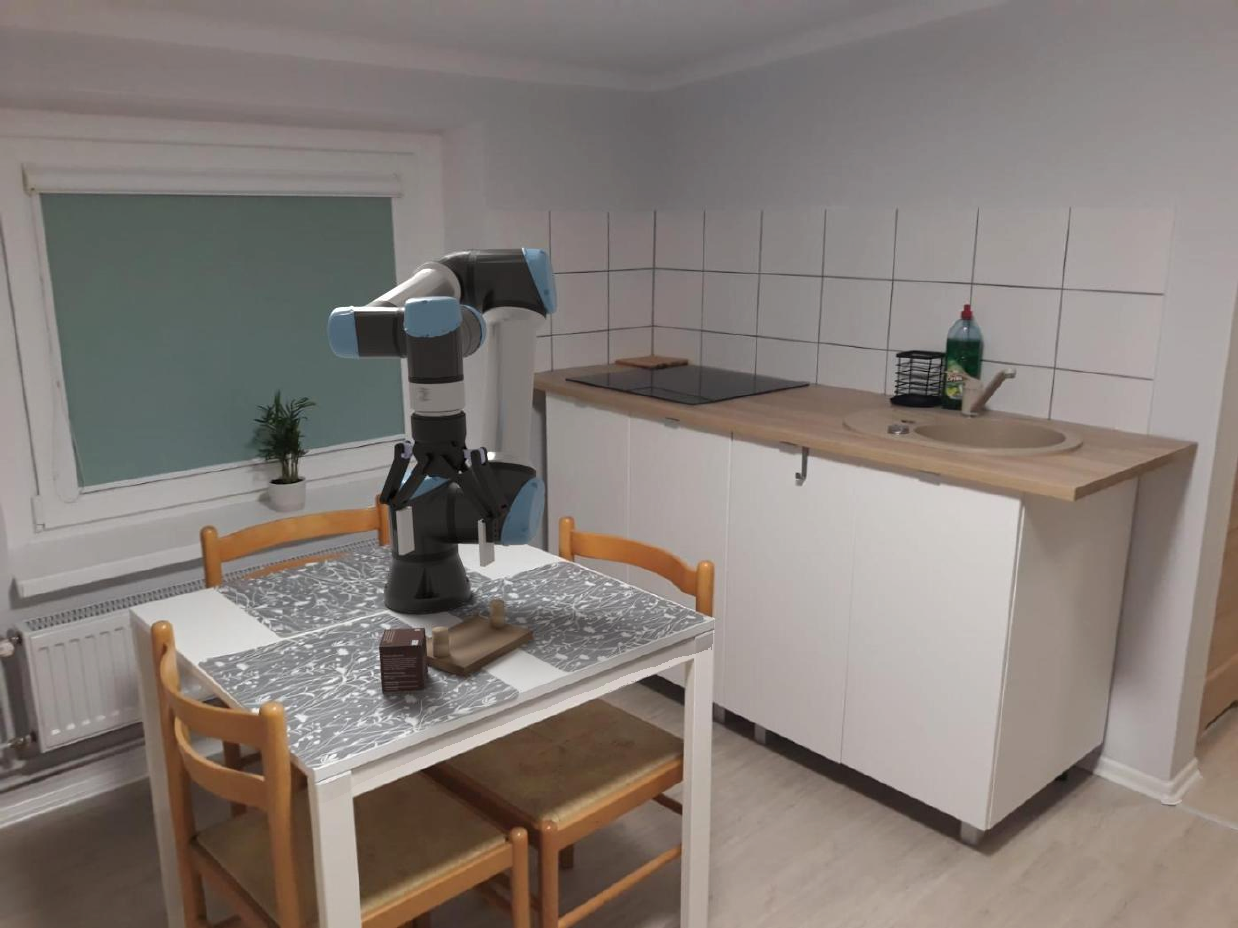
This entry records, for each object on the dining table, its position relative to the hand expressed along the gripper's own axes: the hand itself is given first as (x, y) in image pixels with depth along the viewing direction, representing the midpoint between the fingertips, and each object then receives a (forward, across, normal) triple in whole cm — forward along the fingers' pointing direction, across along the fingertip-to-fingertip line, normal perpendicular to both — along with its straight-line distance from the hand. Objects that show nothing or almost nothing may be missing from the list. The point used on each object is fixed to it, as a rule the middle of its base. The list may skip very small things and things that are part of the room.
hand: (446, 558), depth 140 cm
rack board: (+18, -3, +9) cm, 20 cm away
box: (+18, -5, -5) cm, 20 cm away
